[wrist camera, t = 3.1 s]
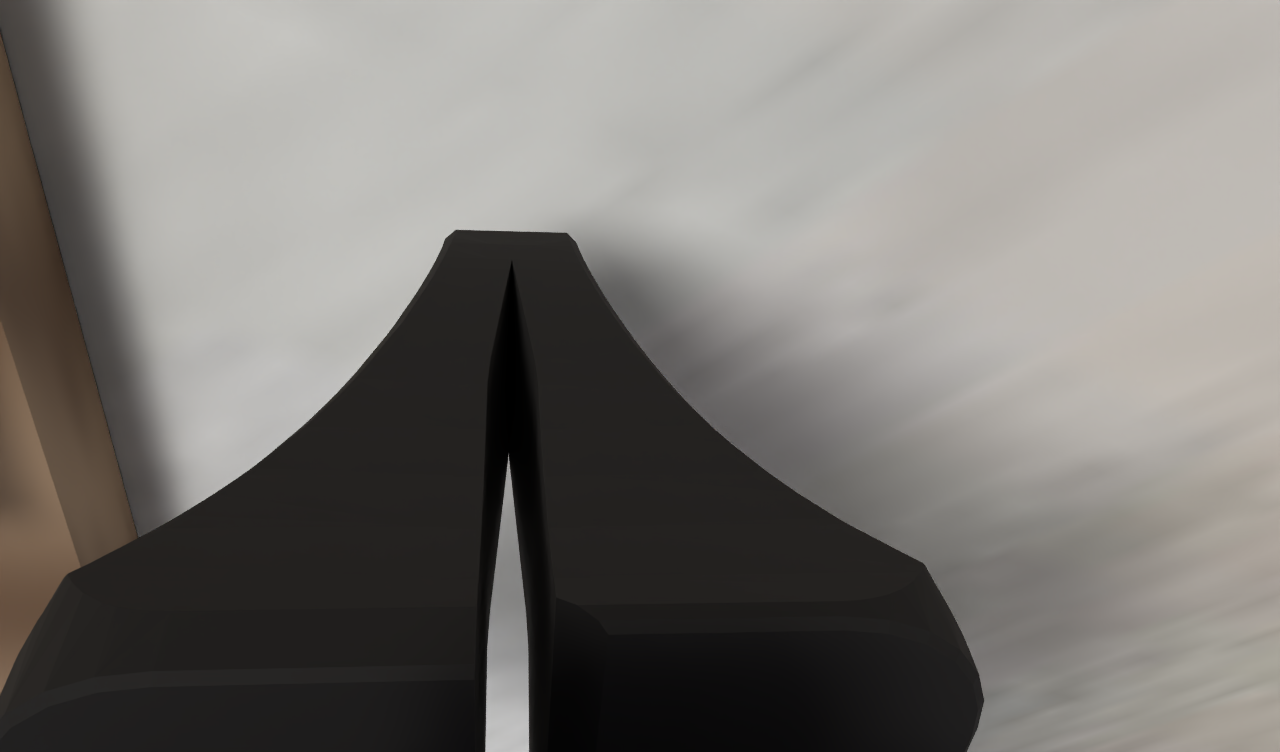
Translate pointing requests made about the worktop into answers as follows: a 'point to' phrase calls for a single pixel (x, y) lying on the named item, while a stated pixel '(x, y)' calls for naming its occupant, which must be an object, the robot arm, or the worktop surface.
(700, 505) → the robot arm
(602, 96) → the worktop surface
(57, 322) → the board
